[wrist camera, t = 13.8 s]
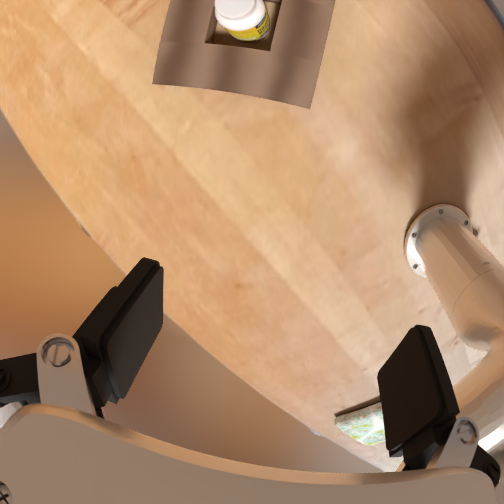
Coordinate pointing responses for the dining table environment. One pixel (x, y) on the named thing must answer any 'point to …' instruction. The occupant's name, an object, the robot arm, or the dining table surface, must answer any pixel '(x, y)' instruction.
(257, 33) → the supplement bottle
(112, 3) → the dining table surface
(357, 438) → the towel
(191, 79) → the walnut board
